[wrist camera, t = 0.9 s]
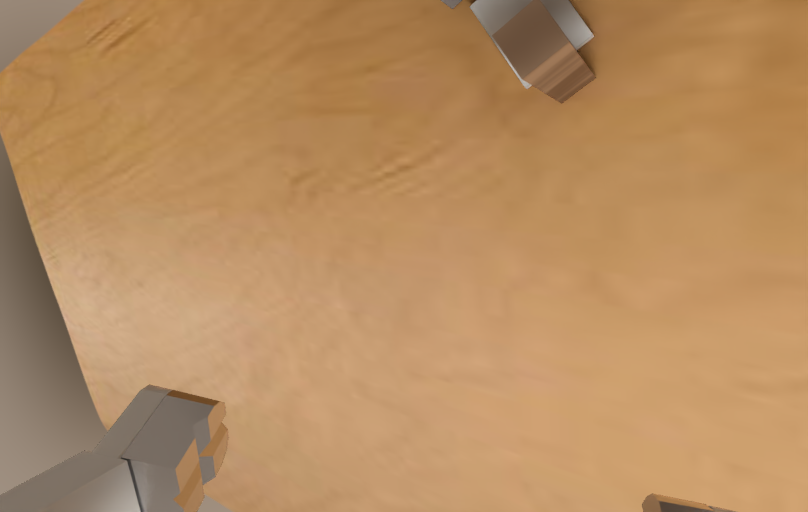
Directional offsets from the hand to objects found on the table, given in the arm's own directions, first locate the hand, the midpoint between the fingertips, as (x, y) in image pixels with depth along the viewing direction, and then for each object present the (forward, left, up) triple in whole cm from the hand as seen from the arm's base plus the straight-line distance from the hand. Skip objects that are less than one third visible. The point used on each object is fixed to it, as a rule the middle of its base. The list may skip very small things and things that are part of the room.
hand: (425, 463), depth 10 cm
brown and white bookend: (-13, -9, -33) cm, 37 cm away
